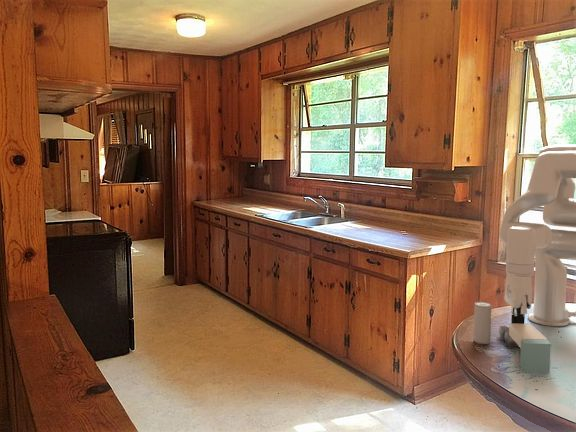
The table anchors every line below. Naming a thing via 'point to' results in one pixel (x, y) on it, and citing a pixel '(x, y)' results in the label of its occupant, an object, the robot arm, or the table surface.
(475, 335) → the beverage can
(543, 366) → the block
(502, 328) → the cylinder
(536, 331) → the slab
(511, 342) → the cylinder
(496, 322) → the table surface
